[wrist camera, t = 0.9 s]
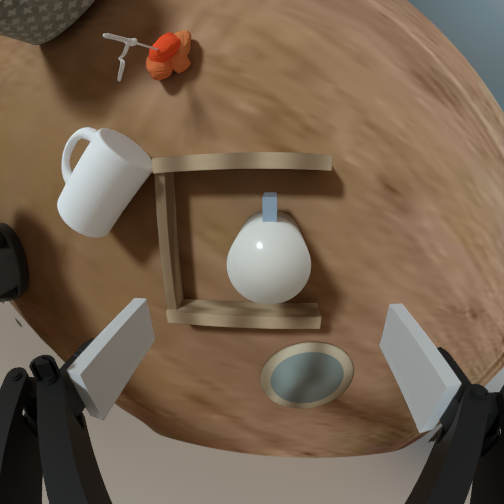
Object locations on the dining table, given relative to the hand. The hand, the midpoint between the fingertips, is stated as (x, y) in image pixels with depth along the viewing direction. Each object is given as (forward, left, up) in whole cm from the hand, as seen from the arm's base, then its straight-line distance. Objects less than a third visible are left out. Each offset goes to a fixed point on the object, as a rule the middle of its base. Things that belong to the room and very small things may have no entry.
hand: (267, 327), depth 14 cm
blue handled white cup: (0, +1, -18) cm, 18 cm away
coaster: (+6, -21, -18) cm, 29 cm away
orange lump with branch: (-12, +22, -19) cm, 31 cm away
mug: (-20, +9, -19) cm, 29 cm away
